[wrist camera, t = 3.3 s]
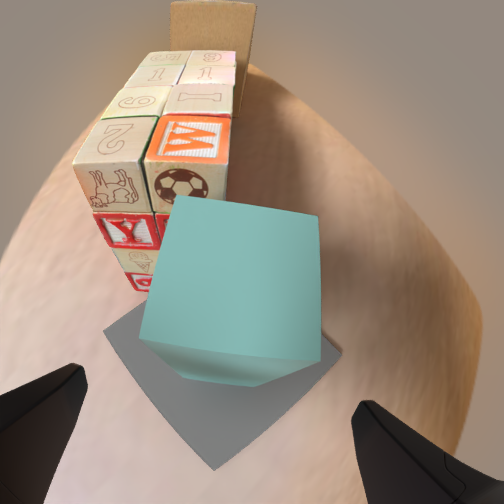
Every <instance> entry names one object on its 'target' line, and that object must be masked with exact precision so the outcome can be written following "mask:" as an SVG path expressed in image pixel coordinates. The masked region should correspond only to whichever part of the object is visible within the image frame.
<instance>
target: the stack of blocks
mask: <svg viewBox="0 0 504 504" xmlns="http://www.w3.org/2000/svg"><path fill="white" fill-rule="evenodd" d="M235 60H236V52H235V51H216V50H194V51H166V52H151V53H150V54H149V55H148V56H147V57H146V58H145V59H144V60H143V62H142V63H141V64H140V65H139V66H138V69H137V70H136V71H135V72H134V73H133V75H132V76H131V78H130V79H129V80H128V81H127V83H126V84H125V85H124V87H123V89H121V90H120V91H119V92H118V93H117V95H116V96H115V98H114V99H113V100H112V102H111V103H110V105H109V106H108V107H107V109H106V110H105V112H104V114H103V115H102V116H101V118H100V121H98V122H97V123H96V124H95V125H94V127H93V128H92V130H91V131H90V133H89V134H88V136H87V138H86V139H85V141H84V142H83V144H82V146H81V147H80V149H79V151H78V152H77V154H76V156H75V157H74V159H73V163H72V165H73V168H74V171H75V174H76V176H77V178H78V180H79V183H80V185H81V187H82V189H83V192H84V194H85V196H86V198H87V200H88V202H89V204H90V206H91V208H92V209H93V217H94V219H95V221H96V223H97V225H98V227H99V229H100V231H101V233H102V234H103V236H104V239H105V240H106V242H107V244H108V245H109V247H111V249H112V251H113V253H114V254H115V256H116V257H117V259H118V261H119V263H120V265H121V267H122V268H123V270H124V273H125V275H126V276H127V278H128V280H129V281H130V283H131V284H132V286H133V288H134V289H135V290H136V291H144V292H149V289H150V285H151V281H152V277H153V273H154V270H155V266H156V262H157V258H158V255H159V251H160V247H161V244H162V240H163V237H164V233H165V230H166V227H167V223H168V220H169V217H170V214H171V210H172V207H173V204H174V201H175V198H176V195H183V196H191V197H199V198H206V199H214V200H221V201H226V187H227V173H228V161H229V148H230V136H231V124H232V110H233V97H234V89H235V74H236V65H237V62H236V61H235Z"/></svg>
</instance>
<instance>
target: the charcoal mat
mask: <svg viewBox="0 0 504 504" xmlns="http://www.w3.org/2000/svg"><path fill="white" fill-rule="evenodd" d="M146 302H147V300H146V301H144V302H143V303H141V304H140V305H139V306H137V307H136V308H134V309H133V310H131V311H130V312H129V313H127V314H126V315H124V316H123V317H122V318H120V319H119V320H117V321H116V322H115V323H113V324H112V325H110V326H109V327H108V328H106V329H105V330H103V332H104V334H105V335H106V337H107V339H108V340H109V342H110V344H111V345H112V347H113V348H114V350H115V351H116V353H117V354H118V356H119V357H120V359H121V360H122V362H123V363H124V365H125V366H126V368H127V369H128V371H129V372H130V374H131V375H132V376H133V378H134V379H135V381H136V382H137V383H138V385H139V386H140V387H141V389H142V390H143V391H144V393H145V394H146V395H147V397H148V398H149V399H150V401H151V402H152V403H153V404H154V406H155V407H156V408H157V409H158V411H159V412H160V413H161V414H162V415H163V417H164V418H165V419H166V420H167V421H168V423H169V424H170V425H171V426H172V427H173V428H174V430H175V431H176V432H177V433H178V434H179V435H180V436H181V437H182V439H183V440H184V441H185V442H186V443H187V444H188V445H189V446H190V447H191V448H192V449H193V450H194V451H195V452H196V454H197V455H198V456H199V457H200V458H201V459H202V460H203V461H204V462H205V463H206V464H207V465H208V466H209V467H210V468H212V469H213V470H214V471H215V470H216V469H217V468H219V467H220V466H222V465H223V464H224V463H226V462H227V461H228V460H230V459H231V458H232V457H234V456H235V455H236V454H237V453H239V452H240V451H241V450H243V449H244V448H245V447H246V446H248V445H249V444H250V443H251V442H252V441H254V440H255V439H256V438H257V437H258V436H260V435H261V434H262V433H263V432H264V431H266V430H267V429H268V428H269V427H270V426H271V425H272V424H274V423H275V422H276V421H277V420H278V419H279V418H280V417H281V416H283V415H284V414H285V413H286V412H287V411H288V410H289V409H290V408H291V407H292V406H293V405H294V404H295V403H296V402H298V401H299V400H300V399H301V398H302V397H303V396H304V395H305V394H306V393H307V392H308V391H309V390H310V389H311V388H312V387H313V386H314V385H315V384H316V383H317V382H318V381H319V380H320V379H321V378H322V377H323V375H324V374H325V373H326V372H327V371H328V370H329V369H330V368H331V367H332V366H333V365H334V364H335V363H336V362H337V360H338V359H339V358H340V357H341V356H342V354H341V353H340V352H339V351H338V350H337V349H336V348H335V347H334V346H333V345H332V344H331V343H330V342H329V341H328V340H327V339H326V338H325V337H324V336H323V335H322V334H321V361H320V362H317V363H315V364H313V365H310V366H308V367H305V368H303V369H301V370H298V371H296V372H293V373H291V374H288V375H285V376H283V377H280V378H278V379H275V380H272V381H269V382H267V383H264V384H261V385H258V386H255V387H249V386H239V385H230V384H222V383H214V382H207V381H200V380H194V379H188V378H183V377H182V376H181V375H179V374H178V373H177V372H176V371H175V370H173V369H172V368H171V367H170V366H169V365H168V364H167V363H165V362H164V361H163V360H162V359H161V358H160V357H159V356H158V355H156V354H155V353H154V352H153V351H152V350H151V349H150V348H149V347H148V346H147V345H146V344H145V343H143V342H142V341H141V340H140V339H139V334H140V329H141V324H142V320H143V315H144V311H145V306H146Z"/></svg>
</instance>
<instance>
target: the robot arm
mask: <svg viewBox="0 0 504 504" xmlns="http://www.w3.org/2000/svg"><path fill="white" fill-rule="evenodd" d="M87 389H88V384H87V379H86V375H85V370H84V368H83V366H81V365H78V364H75V363H70V364H68V365H66V366H64V367H61V368H59V369H57V370H55V371H53V372H51V373H49V374H46V375H44V376H42V377H40V378H38V379H36V380H33V381H31V382H29V383H27V384H25V385H22V386H20V387H18V388H16V389H14V390H11V391H9V392H7V393H5V394H2V395H0V504H43V503H44V500H45V498H46V495H47V492H48V489H49V487H50V484H51V482H52V479H53V477H54V474H55V472H56V469H57V467H58V464H59V462H60V459H61V457H62V455H63V452H64V450H65V448H66V446H67V443H68V441H69V439H70V437H71V434H72V432H73V430H74V428H75V425H76V422H77V419H78V416H79V413H80V410H81V407H82V404H83V401H84V398H85V395H86V393H87ZM351 424H352V430H353V437H354V444H355V451H356V457H357V462H358V466H359V470H360V474H361V477H362V481H363V485H364V489H365V493H366V497H367V501H368V504H504V481H500V480H496V479H494V478H492V477H490V476H487V475H485V474H483V473H481V472H479V471H477V470H475V469H473V468H471V467H470V466H468V465H466V464H464V463H462V462H460V461H459V460H457V459H456V458H454V457H453V456H451V455H450V454H448V453H447V452H444V451H443V450H442V449H441V448H439V447H438V446H436V445H435V444H433V443H432V442H430V441H429V440H427V439H426V438H425V437H423V436H422V435H420V434H419V433H417V432H416V431H415V430H413V429H412V428H410V427H409V426H408V425H406V424H405V423H403V422H402V421H401V420H399V419H398V418H396V417H395V416H394V415H392V414H391V413H390V412H388V411H387V410H386V409H384V408H383V407H381V406H380V405H379V404H377V403H376V402H375V401H373V400H363V401H361V402H360V403H359V405H358V407H357V409H356V410H355V412H354V414H353V416H352V420H351Z"/></svg>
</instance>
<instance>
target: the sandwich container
mask: <svg viewBox="0 0 504 504" xmlns="http://www.w3.org/2000/svg"><path fill="white" fill-rule="evenodd" d="M256 9H257V6H256V4H253V3H245V2H234V1H219V0H196V1H178V2H172V4H171V6H170V51H194V50H216V51H235V52H236V60H235V61H236V62H237V65H236V74H235V89H234V97H233V110H232V117H237V118H238V117H239V114H240V108H241V102H242V97H243V92H244V86H245V81H246V76H247V70H248V64H249V58H250V51H251V44H252V37H253V30H254V23H255V16H256Z"/></svg>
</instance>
